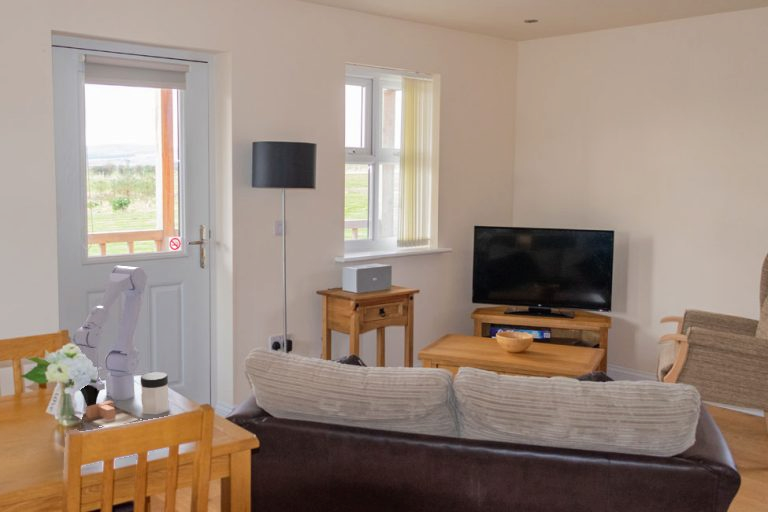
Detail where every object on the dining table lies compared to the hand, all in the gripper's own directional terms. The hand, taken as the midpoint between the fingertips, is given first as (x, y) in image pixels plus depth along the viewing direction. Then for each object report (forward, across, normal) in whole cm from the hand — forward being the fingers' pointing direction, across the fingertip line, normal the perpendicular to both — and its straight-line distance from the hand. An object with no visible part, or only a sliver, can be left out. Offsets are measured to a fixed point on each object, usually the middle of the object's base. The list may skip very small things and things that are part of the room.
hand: (91, 407), depth 249 cm
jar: (+2, +15, +14) cm, 20 cm away
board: (+2, +10, 0) cm, 10 cm away
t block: (+1, +8, 0) cm, 8 cm away
